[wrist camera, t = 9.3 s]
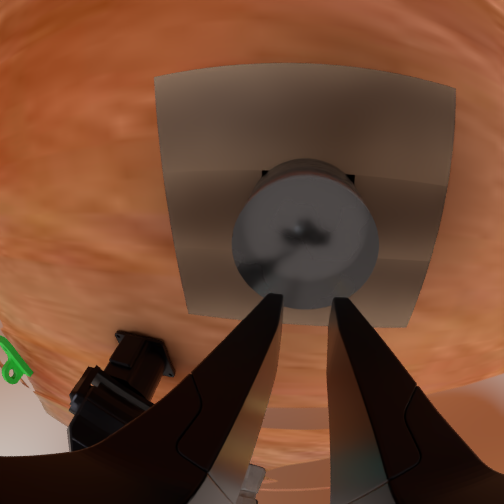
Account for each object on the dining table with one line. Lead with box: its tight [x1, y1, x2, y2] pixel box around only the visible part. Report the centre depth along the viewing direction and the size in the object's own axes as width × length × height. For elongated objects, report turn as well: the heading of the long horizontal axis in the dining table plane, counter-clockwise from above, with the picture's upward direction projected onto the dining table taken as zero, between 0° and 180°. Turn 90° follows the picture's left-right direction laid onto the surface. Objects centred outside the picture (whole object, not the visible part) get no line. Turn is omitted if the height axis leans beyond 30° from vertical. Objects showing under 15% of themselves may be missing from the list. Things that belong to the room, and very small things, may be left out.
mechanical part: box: [0, 335, 33, 384], centre depth 45 cm, size 12×6×8 cm, turn 10°
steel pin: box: [232, 158, 379, 309], centre depth 14 cm, size 5×5×8 cm
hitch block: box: [154, 63, 456, 328], centre depth 15 cm, size 14×14×6 cm
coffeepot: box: [235, 464, 266, 504], centre depth 43 cm, size 15×9×18 cm, turn 32°
